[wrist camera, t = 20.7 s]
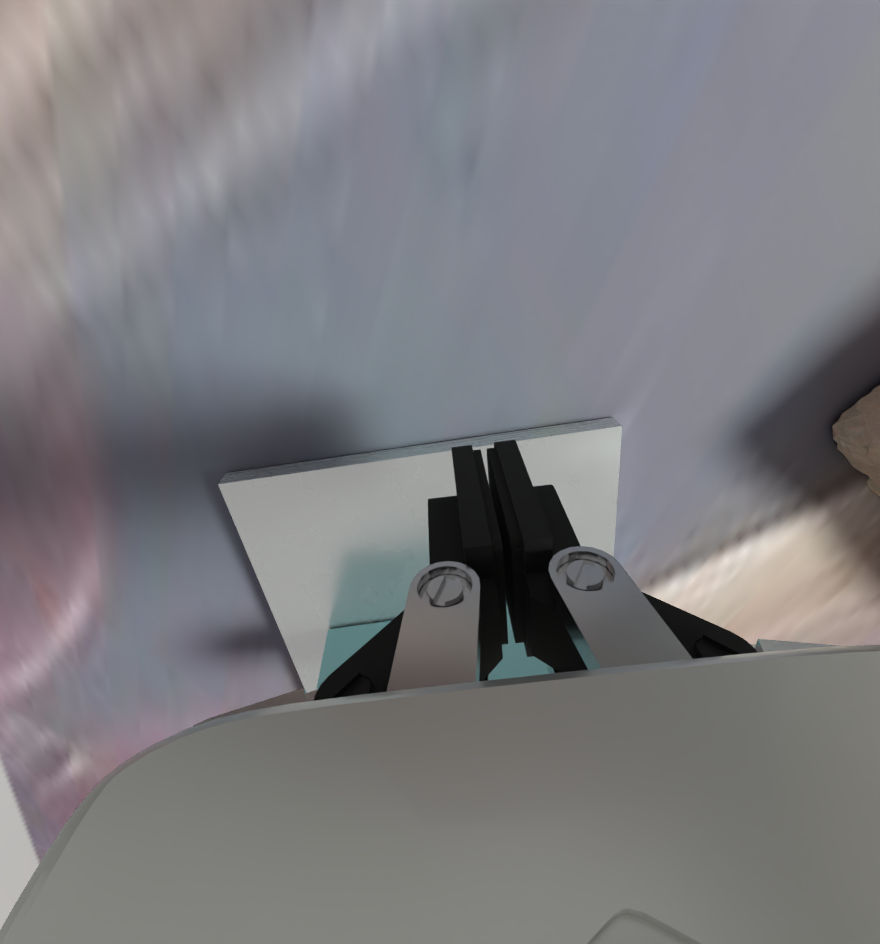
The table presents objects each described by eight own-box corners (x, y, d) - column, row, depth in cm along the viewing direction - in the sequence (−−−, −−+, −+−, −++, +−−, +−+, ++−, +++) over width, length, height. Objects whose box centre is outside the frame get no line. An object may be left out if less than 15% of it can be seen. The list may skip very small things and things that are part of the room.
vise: (225, 473, 17) (165, 559, 13) (612, 416, 17) (682, 485, 12) (368, 821, 29) (361, 924, 25) (592, 791, 29) (624, 889, 25)
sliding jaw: (304, 632, 20) (274, 752, 15) (588, 592, 20) (640, 702, 15) (347, 743, 24) (333, 864, 19) (584, 711, 23) (625, 825, 19)
